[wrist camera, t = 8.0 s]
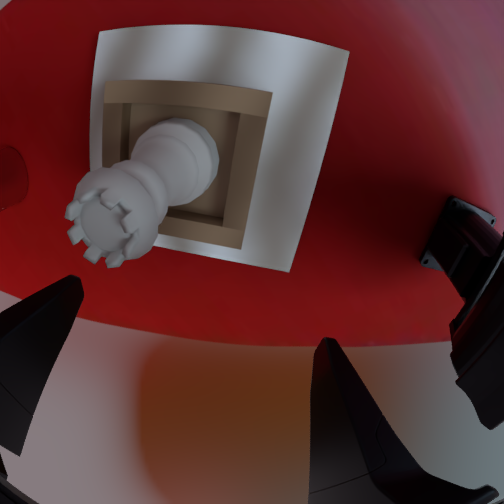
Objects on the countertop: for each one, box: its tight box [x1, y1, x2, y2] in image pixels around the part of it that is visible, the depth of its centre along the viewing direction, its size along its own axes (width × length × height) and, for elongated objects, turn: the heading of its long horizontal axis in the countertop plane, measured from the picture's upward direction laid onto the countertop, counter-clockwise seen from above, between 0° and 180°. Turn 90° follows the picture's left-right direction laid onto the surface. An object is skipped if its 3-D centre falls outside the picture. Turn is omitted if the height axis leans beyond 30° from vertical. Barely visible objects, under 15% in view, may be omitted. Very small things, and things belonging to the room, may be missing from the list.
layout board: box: [90, 25, 349, 272], centre depth 15 cm, size 16×16×5 cm
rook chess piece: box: [65, 118, 219, 268], centre depth 10 cm, size 4×4×8 cm
